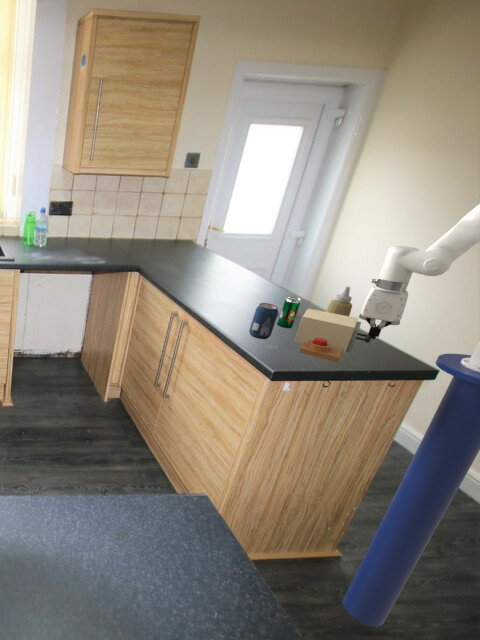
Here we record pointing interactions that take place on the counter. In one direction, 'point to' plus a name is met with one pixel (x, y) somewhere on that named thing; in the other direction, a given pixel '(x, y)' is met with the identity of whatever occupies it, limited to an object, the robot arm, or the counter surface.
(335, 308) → the squeeze bottle
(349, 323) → the cream appliance housing
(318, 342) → the button
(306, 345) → the control block
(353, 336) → the grey piece
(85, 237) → the counter surface
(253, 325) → the soda can
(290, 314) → the soda can
